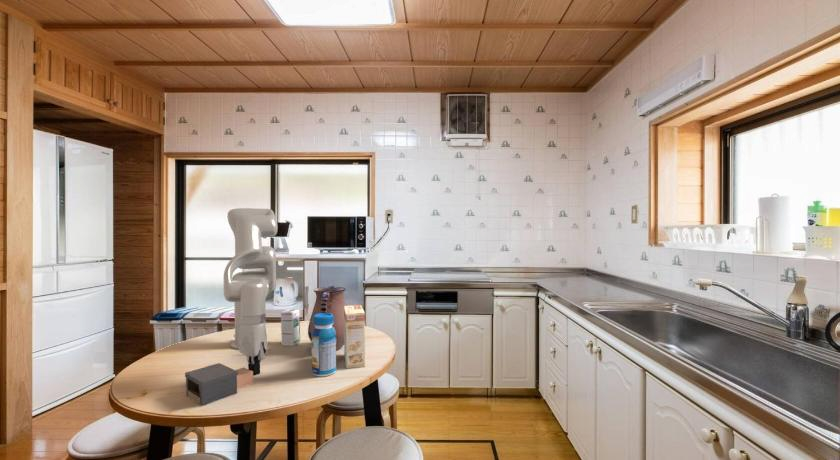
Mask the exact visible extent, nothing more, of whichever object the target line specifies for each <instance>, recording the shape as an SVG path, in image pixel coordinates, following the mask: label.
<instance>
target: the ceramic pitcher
mask: <svg viewBox="0 0 840 460" xmlns="http://www.w3.org/2000/svg"><path fill="white" fill-rule="evenodd" d="M313 292H314V293H315V296H316V297H315V302H314V305H313V309H312V312H311V315H310V319H309V323H308V327H307V335H308V339H309V341H310V342H311V341H312V339H313V338H312V332H313V330H314V328H315V326H314V321H313V317H314V315H316V314H320V313H331V314H333V316H334V323H333V324H332V326H333V328H334V329H335V332H336V335H335V338H336V351H337V350H340V349H341V348H342V347H343V346H344V306H347V304H346V302H345V298H344V293H345V292H346V288H345V287H343V286H341V287H340V286H338V287H335V285H331V286H330V285H329V286H328V287H325V286H324V287H323V286H322V287H315V288H314V289H313Z"/></svg>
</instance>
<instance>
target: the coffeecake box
mask: <svg viewBox="0 0 840 460" xmlns="http://www.w3.org/2000/svg"><path fill="white" fill-rule="evenodd" d="M365 317H366V313H365V310H364V309H363V306H362V305H361V304H351V305H346V306H344V345H343V346H344V347H343V348H344V351H343V352H344V362H345V368H346V369H355V368H366V327H365V326H366V320H365V319H366V318H365Z"/></svg>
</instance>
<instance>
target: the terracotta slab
mask: <svg viewBox="0 0 840 460" xmlns="http://www.w3.org/2000/svg"><path fill="white" fill-rule="evenodd" d="M235 370H236V371H238V375H237V390H238V389H241V388H244V387H247V386H249V385H252V384H254V376H253V371H251V370H249V369H248V368H247V367H240V368H238V369H235ZM199 394H200V385H199Z"/></svg>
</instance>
